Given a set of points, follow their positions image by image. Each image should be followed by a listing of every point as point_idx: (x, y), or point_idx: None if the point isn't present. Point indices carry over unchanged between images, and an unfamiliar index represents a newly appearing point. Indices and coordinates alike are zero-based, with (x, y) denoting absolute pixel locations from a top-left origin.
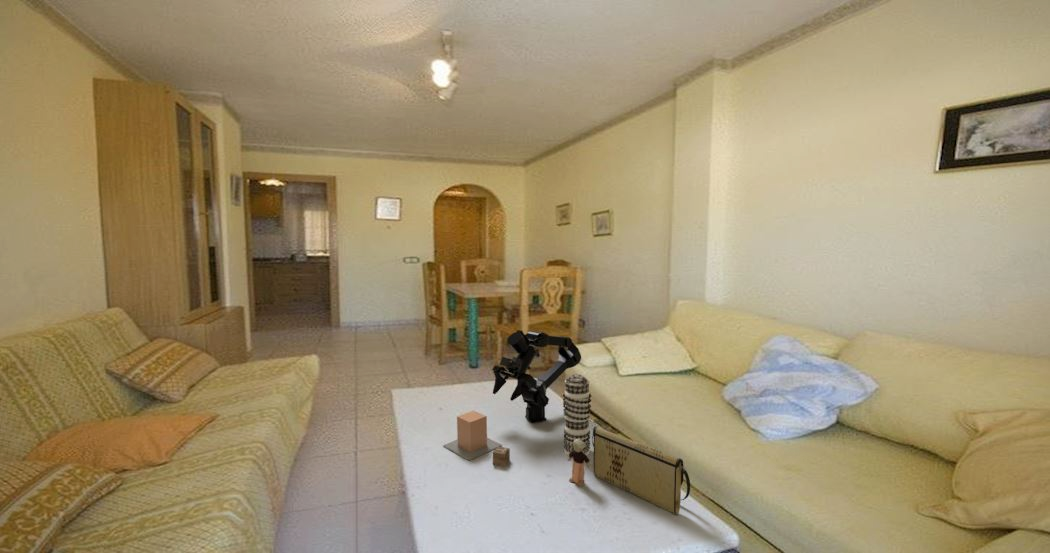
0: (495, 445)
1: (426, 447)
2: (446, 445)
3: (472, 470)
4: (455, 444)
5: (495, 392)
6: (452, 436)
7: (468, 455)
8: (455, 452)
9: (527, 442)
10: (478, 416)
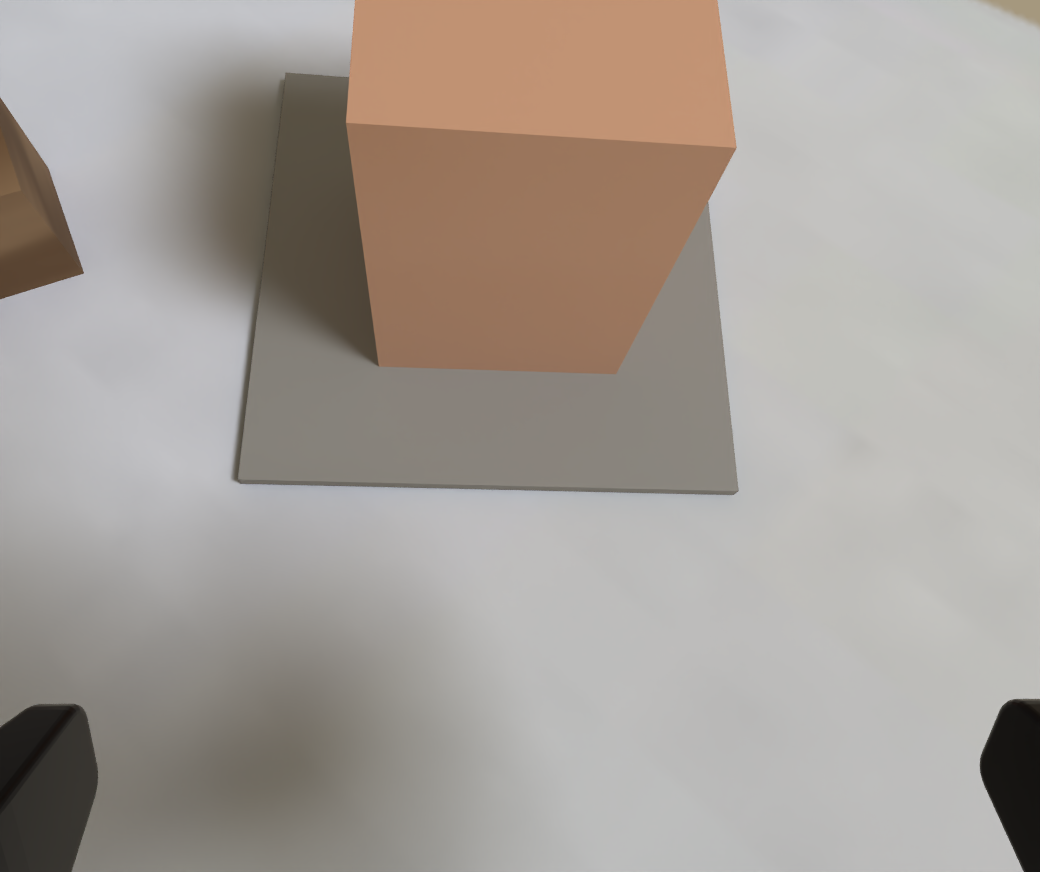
0: (288, 417)
1: (775, 28)
2: None
3: (138, 8)
4: None
5: (1026, 811)
6: (826, 283)
7: None
8: None
9: None
10: (449, 40)
